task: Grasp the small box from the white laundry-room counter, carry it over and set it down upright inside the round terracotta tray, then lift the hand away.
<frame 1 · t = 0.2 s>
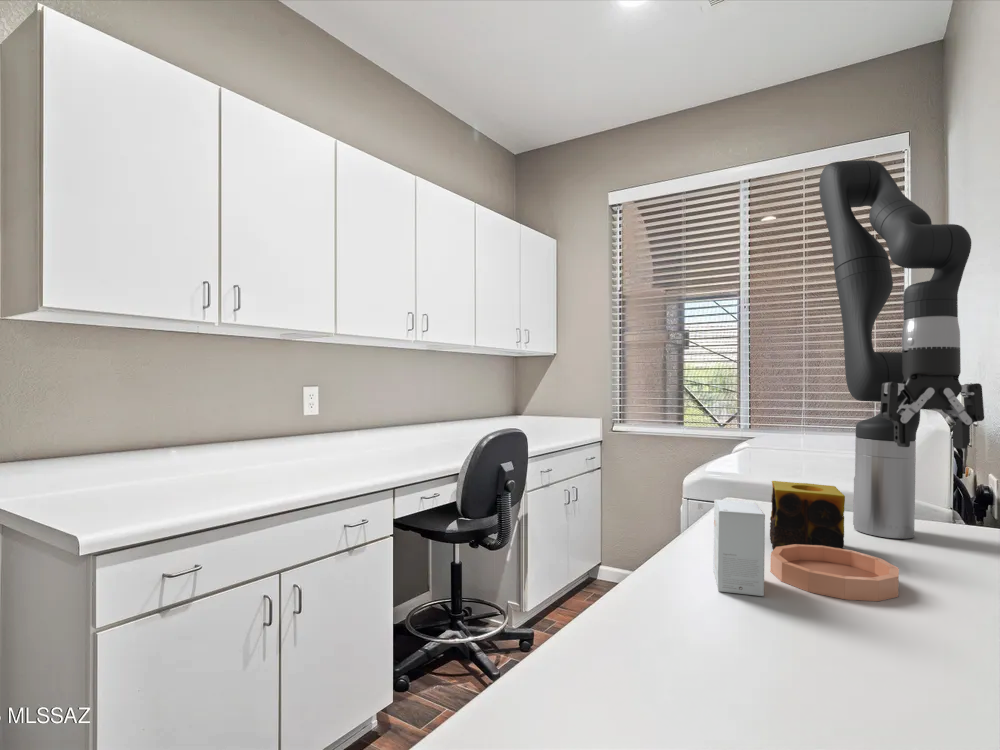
hand: (931, 447, 91), 17 cm above the countertop, tool pointing down, fingers open, 8 cm apart
yellow and black cube: (804, 548, 94), on the countertop
round tray: (832, 579, 78), on the countertop
small box: (737, 585, 76), on the countertop
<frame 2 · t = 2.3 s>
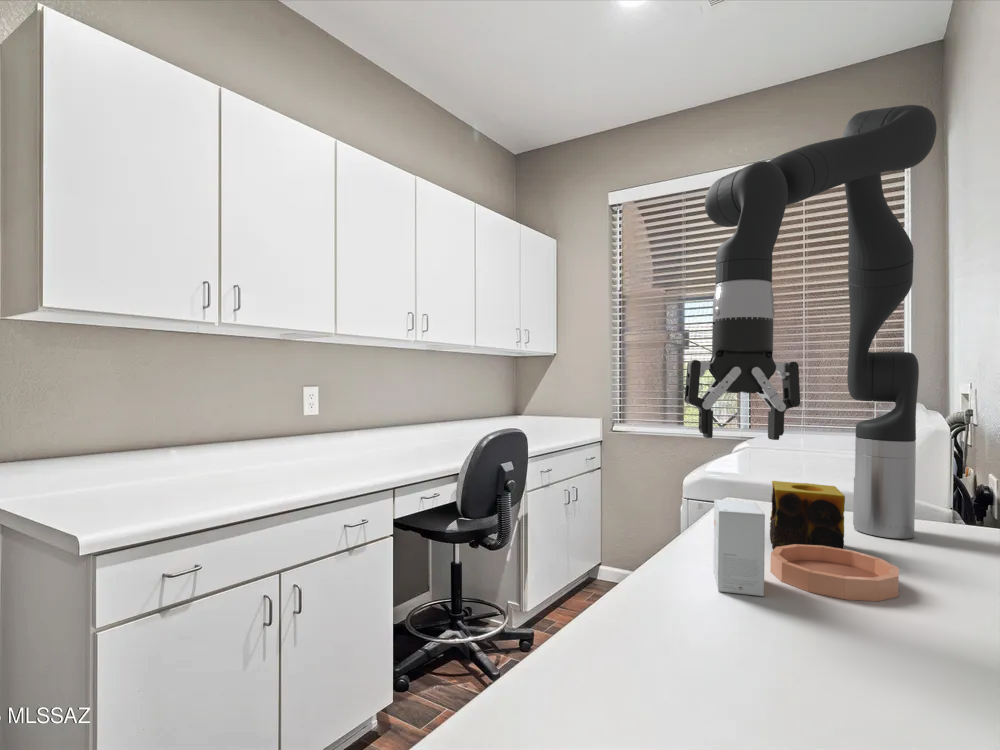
hand: (740, 438, 76), 20 cm above the countertop, tool pointing down, fingers open, 8 cm apart
nothing on the countertop moved.
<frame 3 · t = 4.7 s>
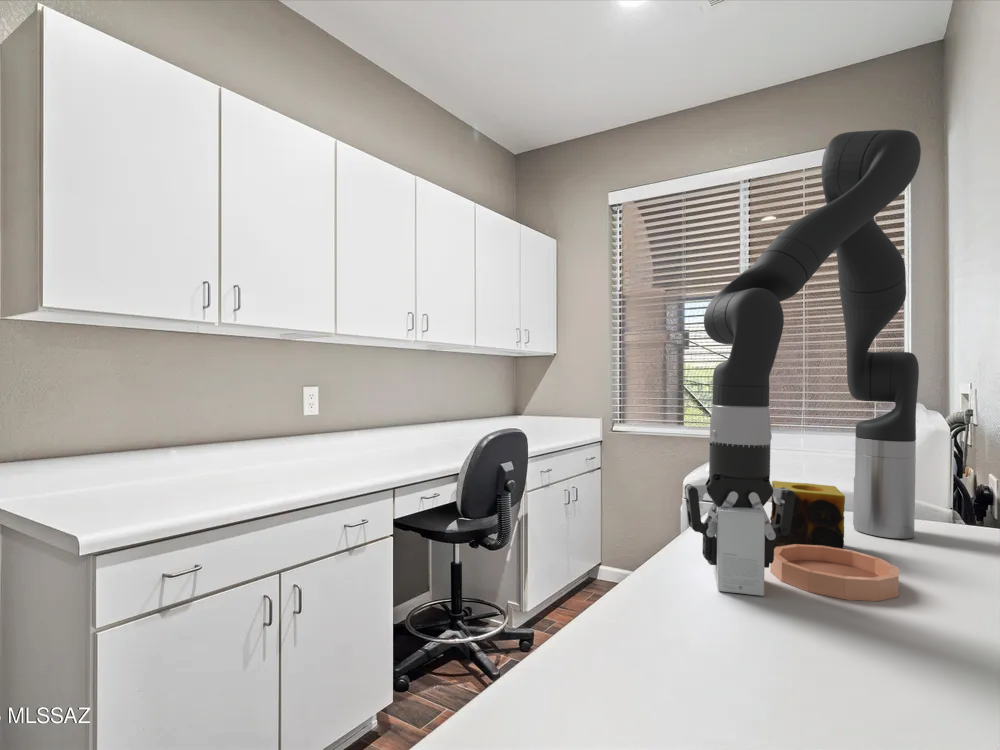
hand: (737, 564, 76), 3 cm above the countertop, tool pointing down, fingers closed on small box, 6 cm apart
small box: (737, 585, 76), on the countertop, touching gripper
everything else where it was.
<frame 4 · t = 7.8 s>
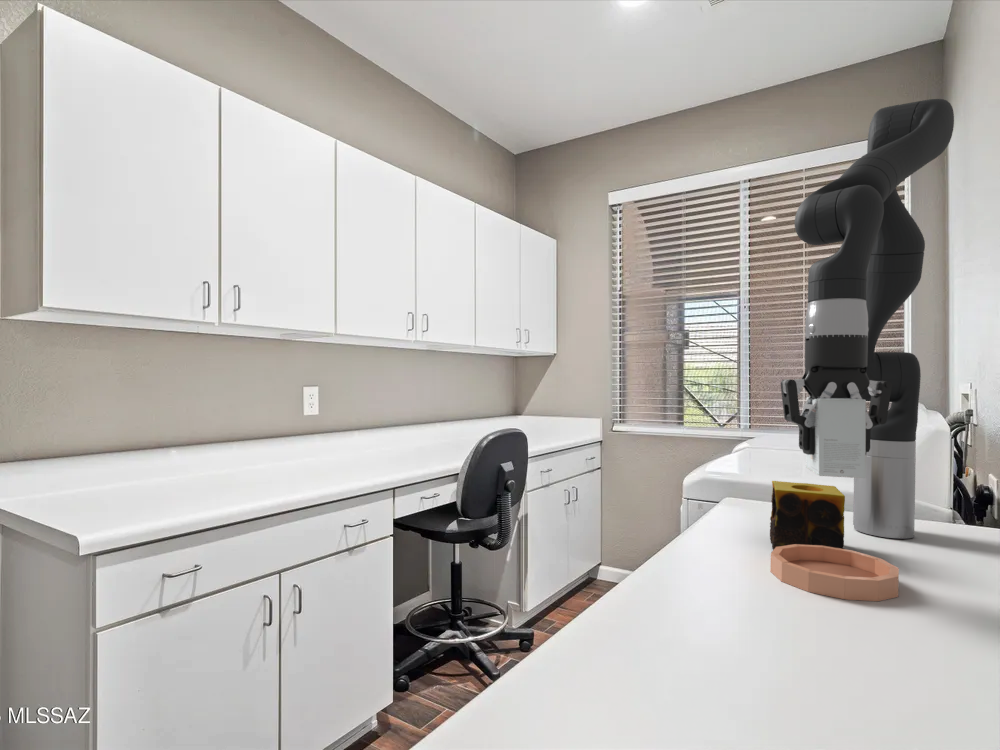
hand: (833, 454, 79), 17 cm above the countertop, tool pointing down, fingers closed on small box, 6 cm apart
small box: (833, 474, 79), point 14 cm above the countertop, touching gripper
everything else where it was.
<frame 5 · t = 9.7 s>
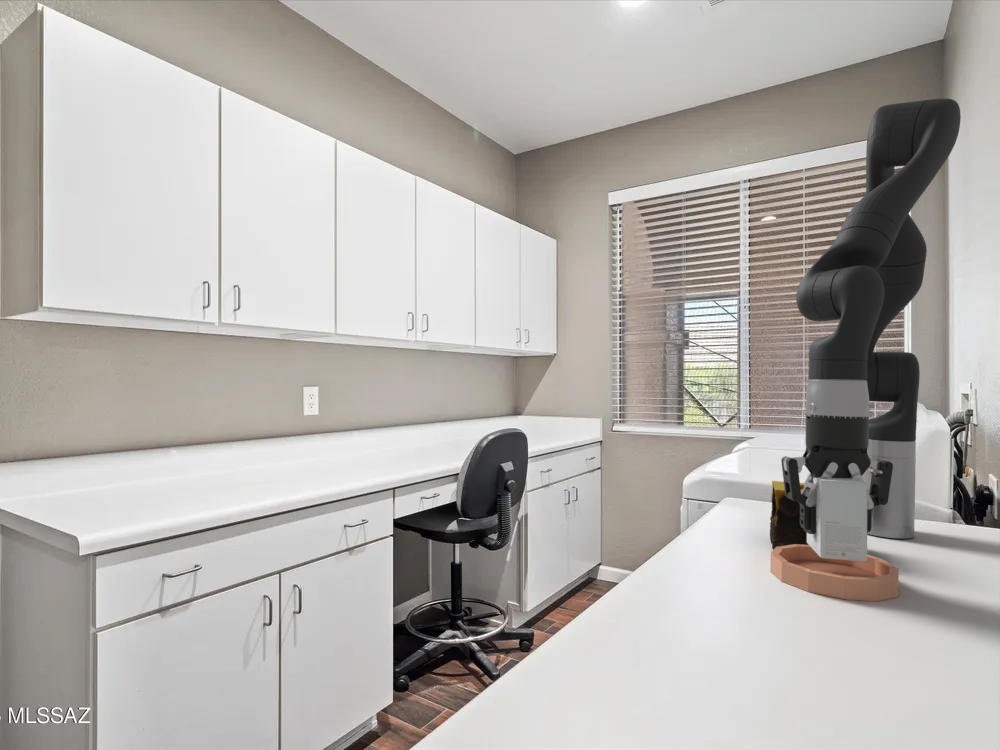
hand: (834, 533, 78), 6 cm above the countertop, tool pointing down, fingers closed on small box, 6 cm apart
small box: (834, 554, 78), point 4 cm above the countertop, touching gripper
everything else where it was.
when the fingers open (5 cm above the countertop, at t = 11.0 s): small box drops 2 cm, resting on round tray.
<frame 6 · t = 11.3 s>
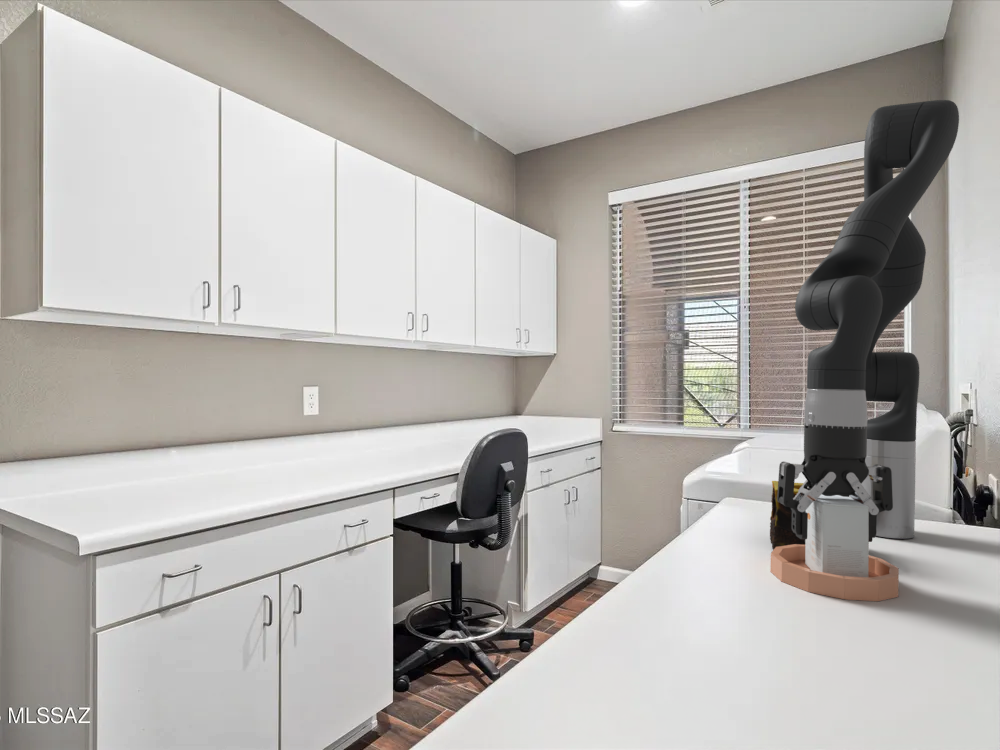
hand: (832, 539, 78), 6 cm above the countertop, tool pointing down, fingers open, 8 cm apart
small box: (834, 576, 78), resting on round tray
everything else where it was.
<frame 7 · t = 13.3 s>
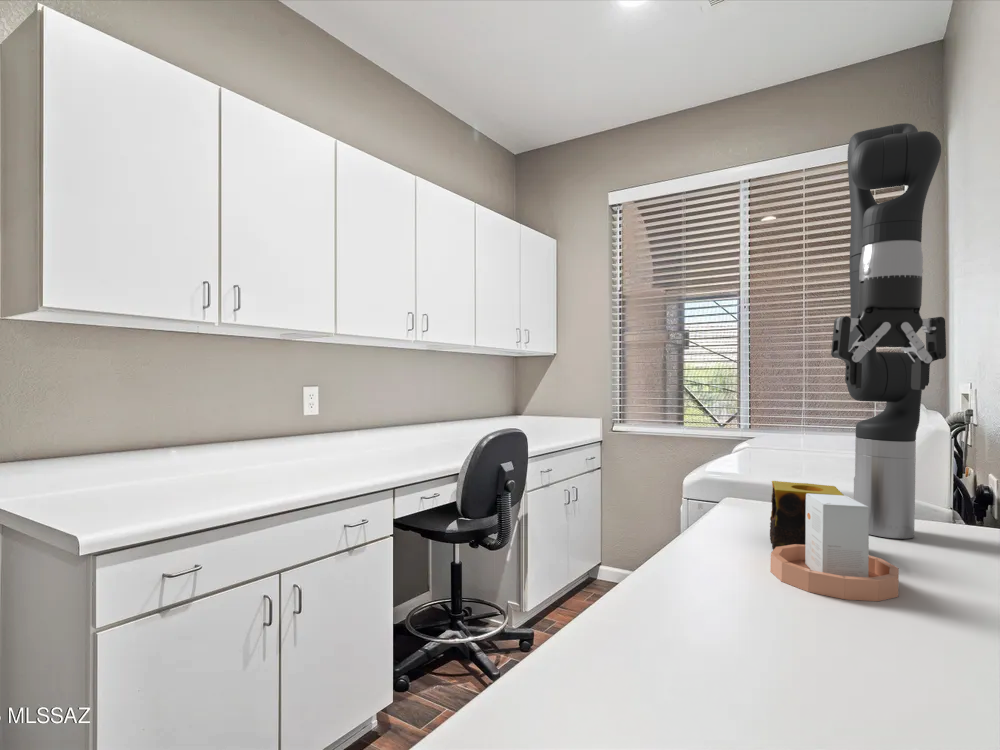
hand: (886, 389, 82), 27 cm above the countertop, tool pointing down, fingers open, 8 cm apart
nothing on the countertop moved.
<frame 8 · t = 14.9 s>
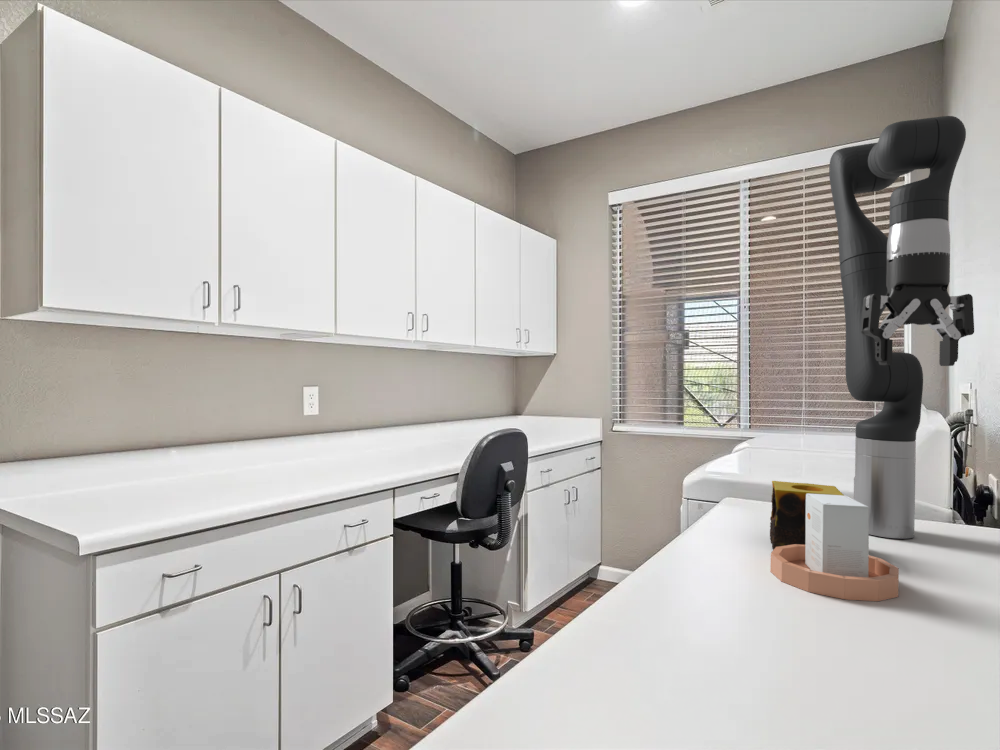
hand: (915, 365, 83), 30 cm above the countertop, tool pointing down, fingers open, 8 cm apart
nothing on the countertop moved.
at the end: small box 0.3 cm off-centre on the round tray, point 0.4 cm above the round tray's base; small box tilted 0°; the gripper is holding nothing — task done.
